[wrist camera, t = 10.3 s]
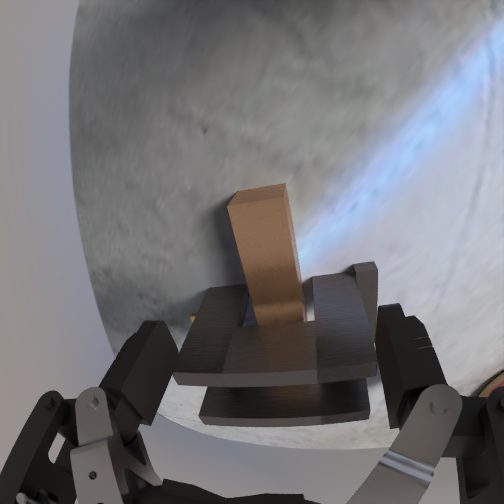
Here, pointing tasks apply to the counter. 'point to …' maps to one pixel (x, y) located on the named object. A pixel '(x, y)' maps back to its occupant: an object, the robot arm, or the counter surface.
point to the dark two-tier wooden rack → (285, 356)
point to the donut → (493, 385)
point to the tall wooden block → (269, 254)
